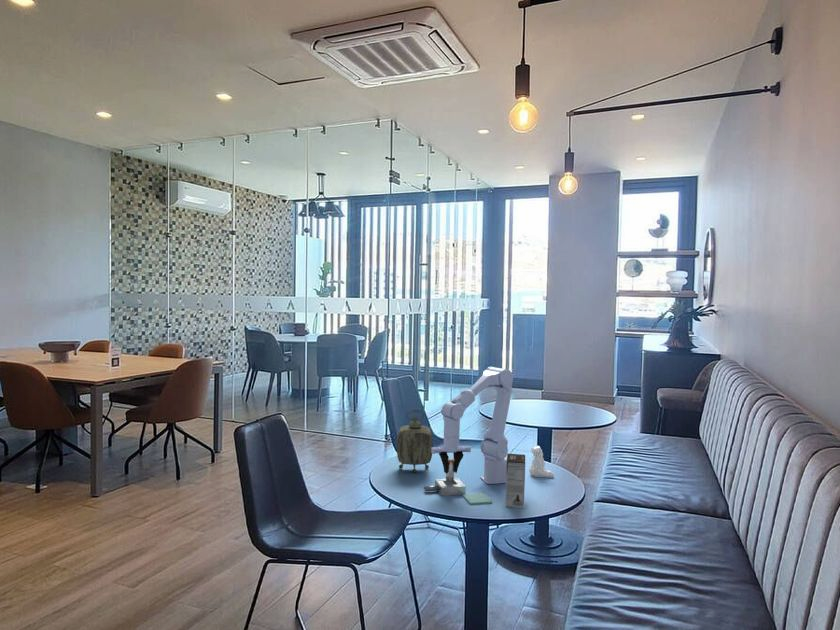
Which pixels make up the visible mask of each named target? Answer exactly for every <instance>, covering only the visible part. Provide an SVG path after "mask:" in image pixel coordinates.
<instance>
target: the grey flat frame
mask: <svg viewBox="0 0 840 630" xmlns="http://www.w3.org/2000/svg"><path fill="white" fill-rule="evenodd" d="M423 489H424V492H438V493H439V495H440V496H441V497H447V496H463V495H464V494H467V493H466V491H467V490H466V489H467V487H466V485H465V483H464V482H463V481H462V480H461V479H460V478H459V477H454V481H446V478H438V479H436V478H435V479H434V485H428V486H426V485H425V486H424V488H423Z"/></svg>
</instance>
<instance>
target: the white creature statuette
mask: <svg viewBox="0 0 840 630" xmlns="http://www.w3.org/2000/svg"><path fill="white" fill-rule="evenodd" d="M530 451H531V453H532V455H533V456H534V457H533V459H532V460H531V461H532V463H531V464H530V466H529V469H528V470H529V473H530V475H531V476H532V477H534V478H550V479H553V478H554V477H555V473H554V472H552V471H551V470H547V469H546V465H545V464H546V462H545V459H544V453H543V449H542V448H541V446H540V445H535V446H534V447H532V446H531V447H530Z"/></svg>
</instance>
